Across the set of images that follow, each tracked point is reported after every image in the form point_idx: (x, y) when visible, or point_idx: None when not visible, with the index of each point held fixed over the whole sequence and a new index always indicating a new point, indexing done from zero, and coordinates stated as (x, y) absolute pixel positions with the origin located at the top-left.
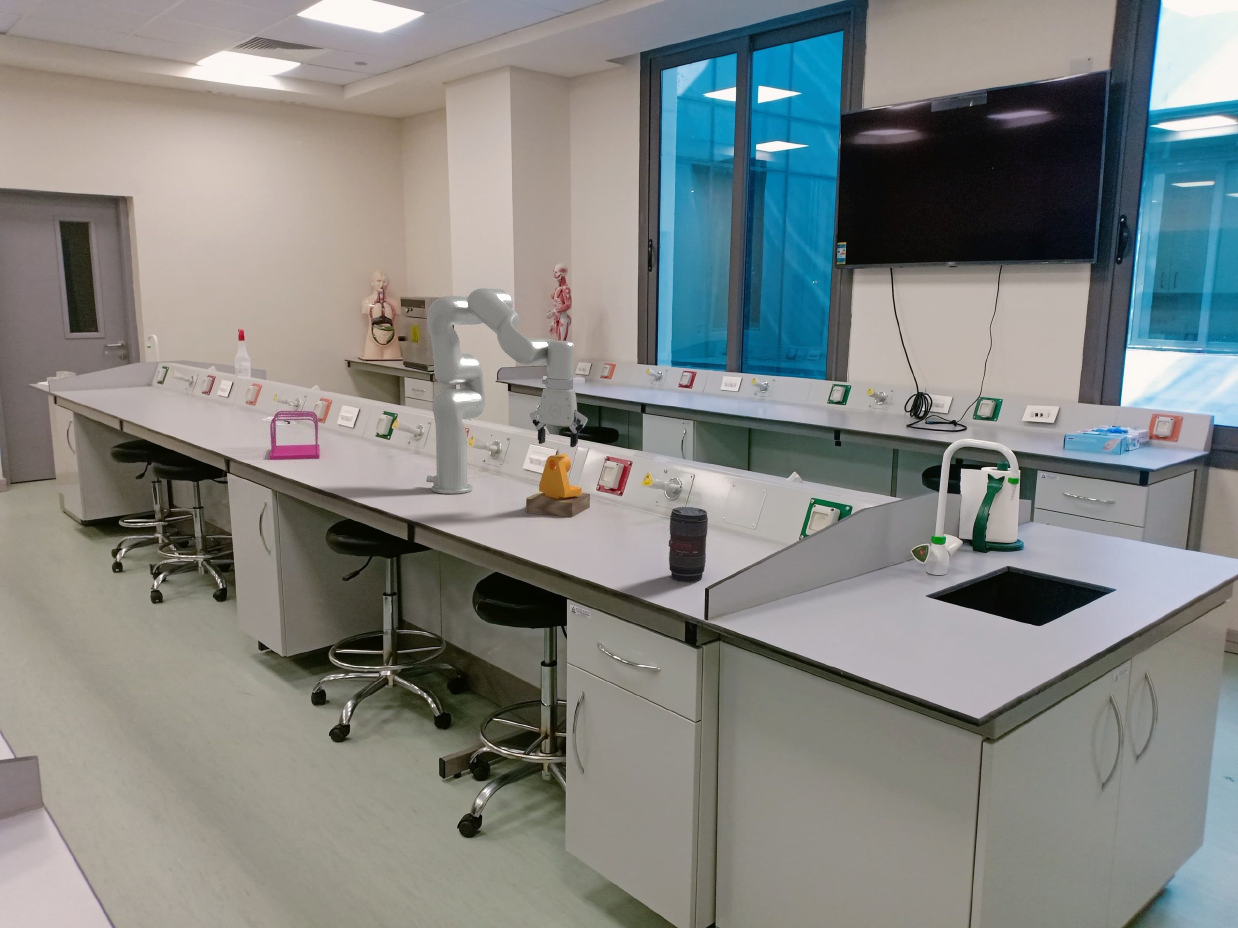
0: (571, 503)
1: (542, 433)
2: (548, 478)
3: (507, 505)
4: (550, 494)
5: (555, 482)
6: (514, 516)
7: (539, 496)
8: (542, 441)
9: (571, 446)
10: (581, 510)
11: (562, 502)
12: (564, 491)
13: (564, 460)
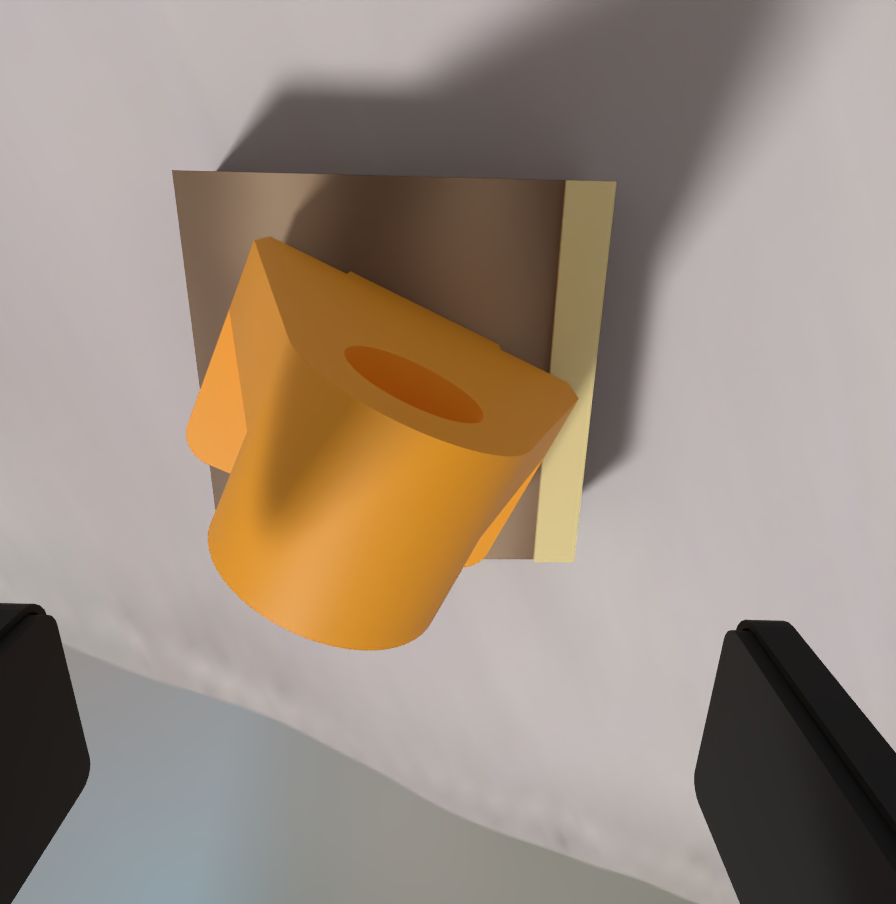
0: (184, 172)
1: (835, 874)
2: (472, 363)
3: (778, 352)
4: (438, 317)
5: (373, 312)
6: (630, 5)
7: (536, 315)
8: (729, 706)
9: (6, 603)
10: None
11: (269, 173)
12: (259, 243)
13: (246, 464)
